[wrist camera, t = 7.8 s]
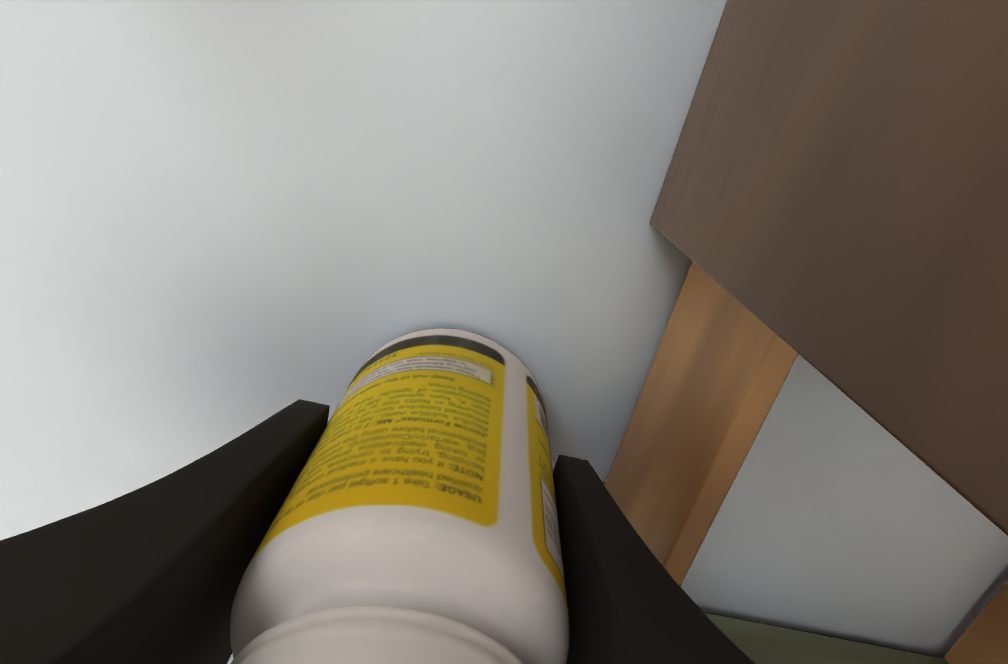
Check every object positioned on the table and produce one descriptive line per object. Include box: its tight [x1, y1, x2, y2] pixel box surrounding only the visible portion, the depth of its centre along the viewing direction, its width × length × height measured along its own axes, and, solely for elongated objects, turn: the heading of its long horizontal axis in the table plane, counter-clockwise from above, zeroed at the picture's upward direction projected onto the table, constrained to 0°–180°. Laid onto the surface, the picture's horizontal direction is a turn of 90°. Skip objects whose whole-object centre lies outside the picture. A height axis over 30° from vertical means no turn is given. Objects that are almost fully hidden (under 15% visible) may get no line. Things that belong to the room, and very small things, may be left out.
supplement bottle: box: [230, 328, 569, 664], centre depth 9 cm, size 5×5×8 cm
